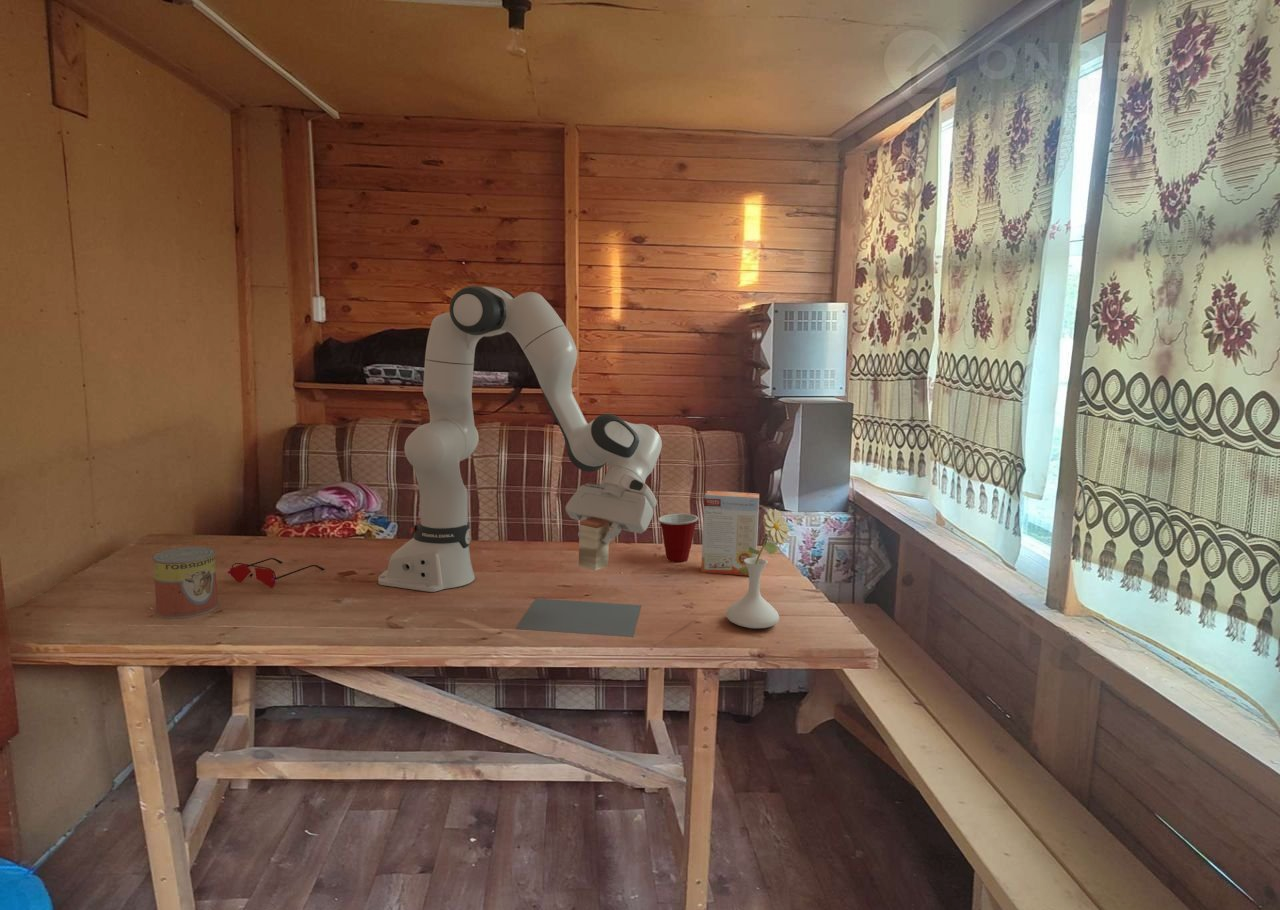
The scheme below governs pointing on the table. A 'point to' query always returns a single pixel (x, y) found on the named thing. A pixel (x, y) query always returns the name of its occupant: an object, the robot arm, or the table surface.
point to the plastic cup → (678, 535)
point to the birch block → (593, 544)
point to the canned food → (185, 582)
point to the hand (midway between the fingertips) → (592, 540)
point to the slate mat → (581, 617)
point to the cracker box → (729, 531)
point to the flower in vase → (752, 605)
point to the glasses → (259, 572)
